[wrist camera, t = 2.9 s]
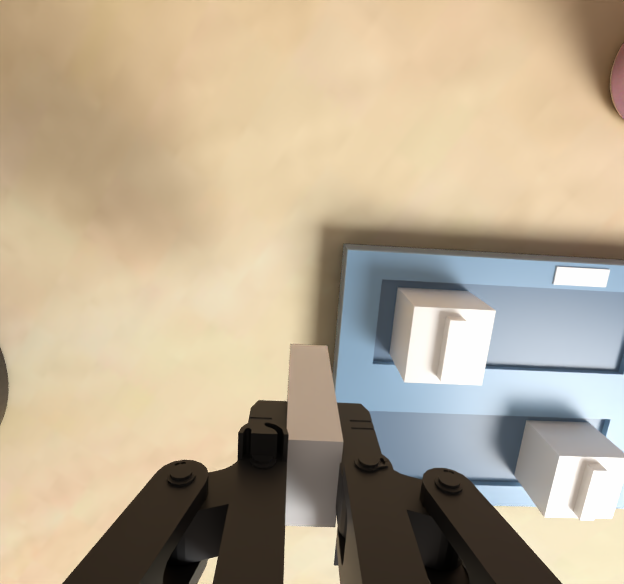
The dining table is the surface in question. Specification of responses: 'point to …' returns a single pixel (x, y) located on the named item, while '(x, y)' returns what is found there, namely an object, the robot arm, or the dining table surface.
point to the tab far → (570, 469)
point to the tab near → (441, 336)
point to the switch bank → (500, 360)
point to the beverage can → (618, 82)
